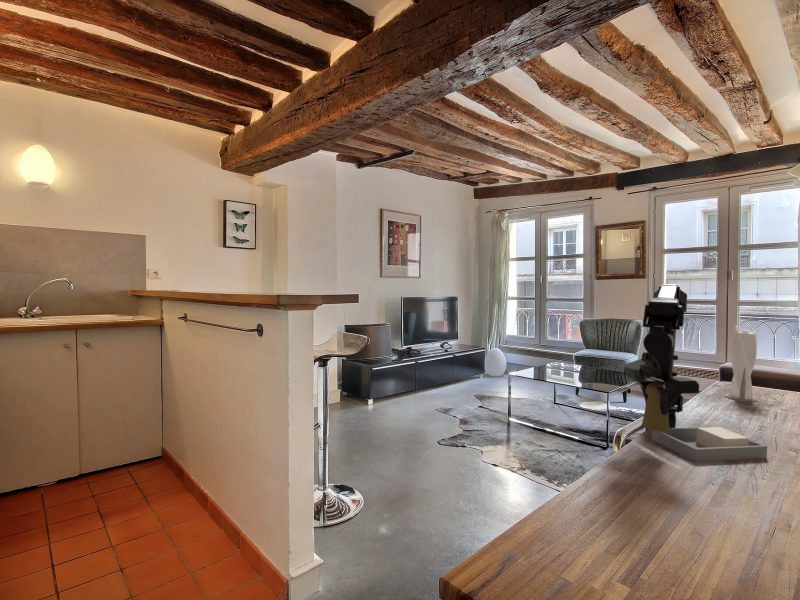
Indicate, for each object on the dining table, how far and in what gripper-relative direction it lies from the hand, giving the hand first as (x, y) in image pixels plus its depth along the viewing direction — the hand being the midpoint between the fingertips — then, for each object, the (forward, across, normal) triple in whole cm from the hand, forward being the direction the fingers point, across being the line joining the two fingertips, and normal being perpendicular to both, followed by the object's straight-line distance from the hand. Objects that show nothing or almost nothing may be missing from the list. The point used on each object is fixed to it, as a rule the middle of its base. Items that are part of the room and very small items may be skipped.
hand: (656, 411), depth 108 cm
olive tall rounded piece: (+4, 0, 0) cm, 4 cm away
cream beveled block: (+10, +1, +19) cm, 21 cm away
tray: (+11, +1, +14) cm, 18 cm away
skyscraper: (+12, -45, +75) cm, 88 cm away
